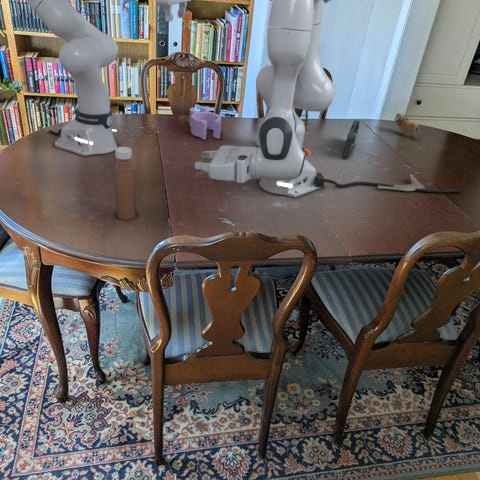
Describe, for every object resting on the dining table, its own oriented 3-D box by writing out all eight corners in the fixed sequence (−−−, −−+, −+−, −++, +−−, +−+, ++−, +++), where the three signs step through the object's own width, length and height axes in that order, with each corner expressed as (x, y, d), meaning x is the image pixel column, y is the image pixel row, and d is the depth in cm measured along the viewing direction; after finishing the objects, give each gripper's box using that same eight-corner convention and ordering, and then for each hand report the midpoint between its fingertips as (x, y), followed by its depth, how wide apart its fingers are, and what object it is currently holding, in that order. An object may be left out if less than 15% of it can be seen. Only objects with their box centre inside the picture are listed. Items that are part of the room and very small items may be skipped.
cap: (114, 153, 127) (114, 147, 126) (130, 153, 129) (130, 146, 128) (116, 160, 124) (116, 153, 123) (132, 159, 125) (132, 152, 124)
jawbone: (429, 189, 172) (431, 184, 171) (394, 201, 161) (396, 196, 160) (410, 177, 177) (412, 172, 176) (375, 189, 167) (376, 184, 165)
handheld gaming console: (349, 160, 187) (354, 136, 182) (342, 158, 188) (347, 134, 183) (355, 142, 206) (361, 119, 201) (349, 140, 207) (354, 118, 201)
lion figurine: (389, 131, 222) (394, 113, 217) (394, 129, 226) (399, 111, 221) (418, 140, 215) (424, 121, 210) (423, 138, 218) (429, 119, 214)
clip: (182, 123, 206) (183, 107, 202) (209, 122, 210) (210, 106, 207) (197, 140, 191) (197, 123, 187) (225, 138, 195) (226, 122, 191)
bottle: (115, 211, 138) (111, 147, 127) (134, 209, 139) (132, 146, 129) (118, 220, 133) (114, 155, 123) (137, 218, 135) (135, 154, 124)
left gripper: (179, -35, 146) (178, 14, 153) (151, -33, 129) (151, 21, 136) (198, -32, 144) (196, 17, 152) (172, -31, 128) (171, 24, 135)
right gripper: (251, 141, 140) (206, 139, 142) (241, 163, 122) (190, 160, 124) (250, 161, 143) (206, 159, 145) (241, 185, 125) (191, 182, 127)
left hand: (175, 19), depth 144 cm, fingers open, 8 cm apart
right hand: (198, 159), depth 134 cm, fingers open, 8 cm apart
